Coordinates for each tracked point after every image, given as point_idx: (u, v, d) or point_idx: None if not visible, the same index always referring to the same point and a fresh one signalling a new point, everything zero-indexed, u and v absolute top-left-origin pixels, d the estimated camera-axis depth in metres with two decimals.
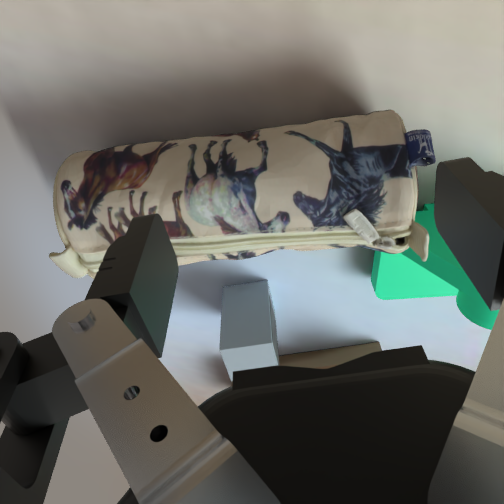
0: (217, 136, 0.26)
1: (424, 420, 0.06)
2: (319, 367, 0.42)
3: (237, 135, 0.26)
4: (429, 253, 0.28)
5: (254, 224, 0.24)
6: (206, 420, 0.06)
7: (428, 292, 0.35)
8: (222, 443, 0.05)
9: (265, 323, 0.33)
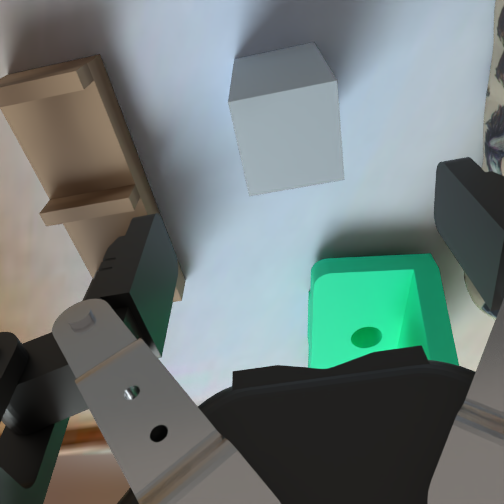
0: None
1: (424, 420, 0.06)
2: None
3: None
4: (449, 331, 0.25)
5: None
6: (206, 420, 0.06)
7: (319, 323, 0.29)
8: (222, 443, 0.05)
9: None
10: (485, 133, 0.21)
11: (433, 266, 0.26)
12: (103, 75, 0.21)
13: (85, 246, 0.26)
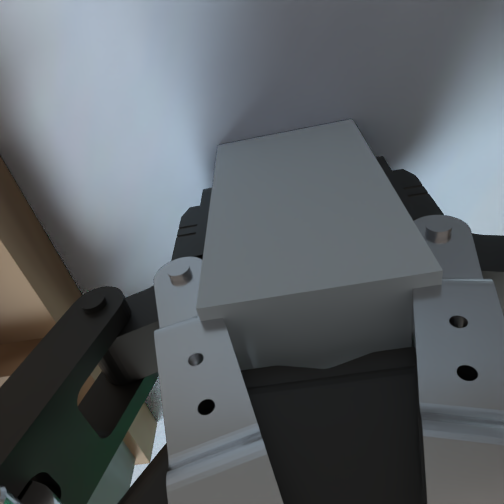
0: None
1: None
2: (91, 379, 0.16)
3: None
4: None
5: None
6: (251, 411, 0.06)
7: None
8: (256, 440, 0.05)
9: None
10: None
11: None
12: None
13: None
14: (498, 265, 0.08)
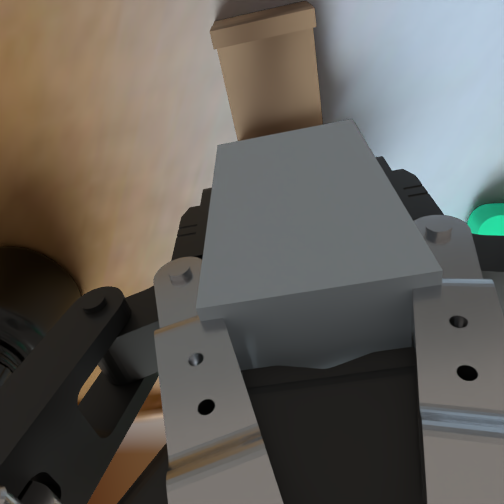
0: None
1: None
2: None
3: None
4: None
5: None
6: (251, 411, 0.06)
7: None
8: (256, 441, 0.05)
9: None
10: None
11: None
12: None
13: None
14: (498, 265, 0.08)
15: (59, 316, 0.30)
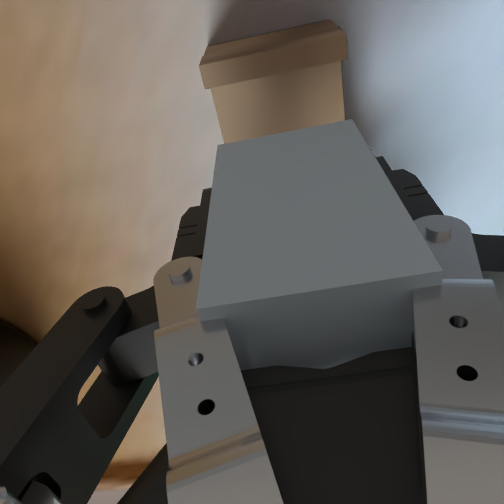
0: None
1: None
2: None
3: None
4: None
5: None
6: (251, 411, 0.06)
7: None
8: (256, 441, 0.05)
9: None
10: None
11: None
12: None
13: None
14: (498, 265, 0.08)
15: None
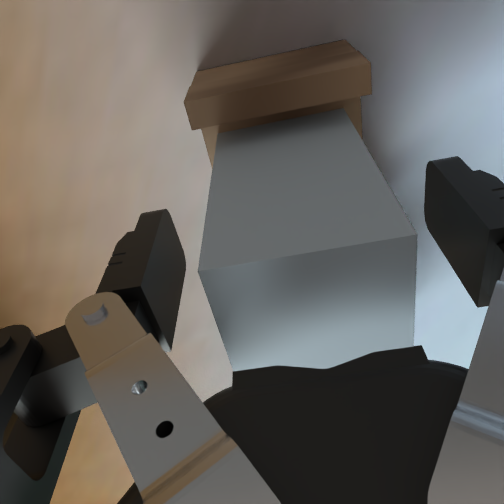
0: None
1: (424, 420, 0.06)
2: None
3: None
4: None
5: None
6: (211, 418, 0.06)
7: None
8: (226, 442, 0.05)
9: None
10: None
11: None
12: None
13: None
14: None
15: None
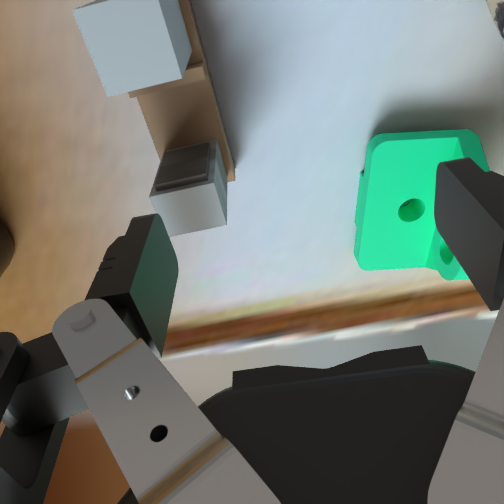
0: None
1: (424, 420, 0.06)
2: (211, 99, 0.29)
3: None
4: None
5: None
6: (206, 420, 0.06)
7: (373, 195, 0.33)
8: (222, 443, 0.05)
9: (183, 61, 0.23)
10: (497, 26, 0.27)
11: (473, 135, 0.31)
12: None
13: (156, 126, 0.30)
14: None
15: None
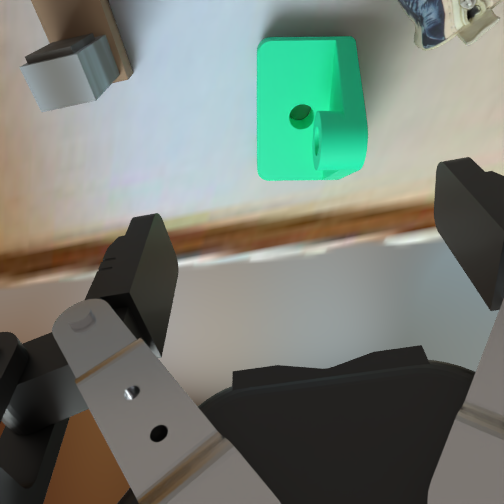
0: None
1: (424, 420, 0.06)
2: None
3: None
4: (358, 78, 0.32)
5: None
6: (206, 420, 0.06)
7: (263, 98, 0.36)
8: (222, 443, 0.05)
9: None
10: None
11: (351, 39, 0.33)
12: None
13: (47, 19, 0.32)
14: None
15: None
